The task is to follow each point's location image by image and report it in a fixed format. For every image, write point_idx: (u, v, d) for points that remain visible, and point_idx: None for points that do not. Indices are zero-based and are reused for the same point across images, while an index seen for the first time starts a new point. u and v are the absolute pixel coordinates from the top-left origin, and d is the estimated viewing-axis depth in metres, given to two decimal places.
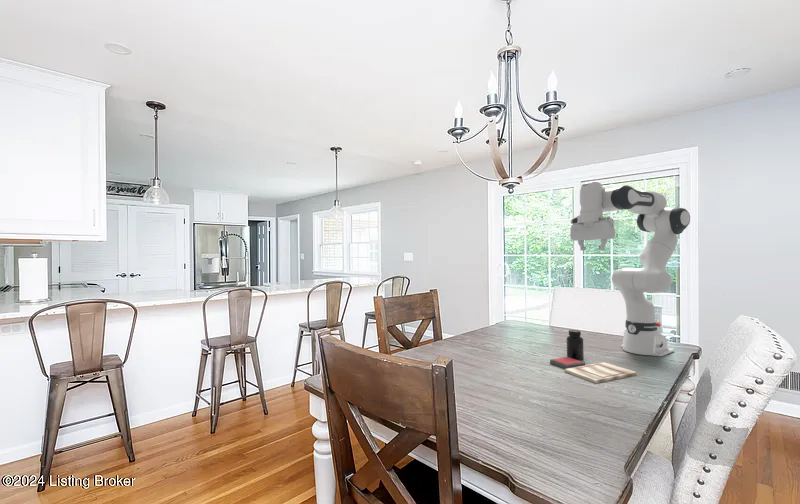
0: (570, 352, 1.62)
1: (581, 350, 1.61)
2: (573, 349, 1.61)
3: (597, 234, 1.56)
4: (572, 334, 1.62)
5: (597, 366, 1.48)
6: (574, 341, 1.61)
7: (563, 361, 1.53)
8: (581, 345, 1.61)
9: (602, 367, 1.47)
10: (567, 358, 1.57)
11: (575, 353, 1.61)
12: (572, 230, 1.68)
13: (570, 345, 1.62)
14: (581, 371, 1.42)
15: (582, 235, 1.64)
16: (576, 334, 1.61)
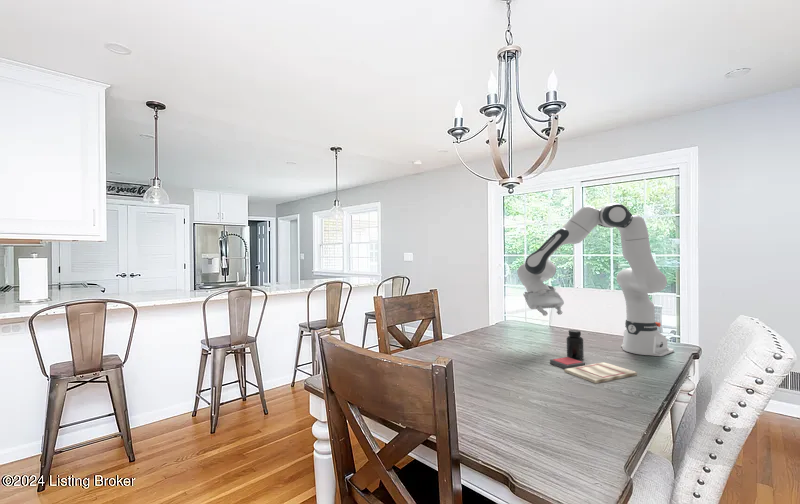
0: (570, 352, 1.62)
1: (581, 350, 1.61)
2: (573, 349, 1.61)
3: None
4: (572, 334, 1.62)
5: (597, 366, 1.48)
6: (574, 341, 1.61)
7: (563, 361, 1.53)
8: (581, 345, 1.61)
9: (602, 367, 1.47)
10: (567, 358, 1.57)
11: (575, 353, 1.61)
12: None
13: (570, 345, 1.62)
14: (581, 371, 1.42)
15: None
16: (576, 334, 1.61)
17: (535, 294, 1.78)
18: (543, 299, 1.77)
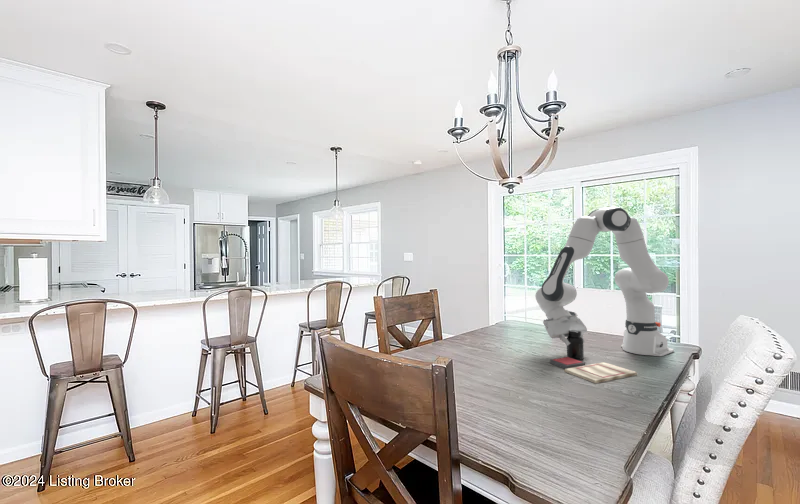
0: (570, 352, 1.62)
1: (581, 350, 1.61)
2: (573, 349, 1.61)
3: None
4: (572, 334, 1.62)
5: (597, 366, 1.48)
6: (574, 341, 1.61)
7: (563, 361, 1.53)
8: (581, 345, 1.61)
9: (602, 367, 1.47)
10: (567, 358, 1.57)
11: (575, 353, 1.61)
12: None
13: (570, 345, 1.62)
14: (581, 371, 1.42)
15: None
16: (576, 334, 1.61)
17: (556, 322, 1.67)
18: (564, 327, 1.66)
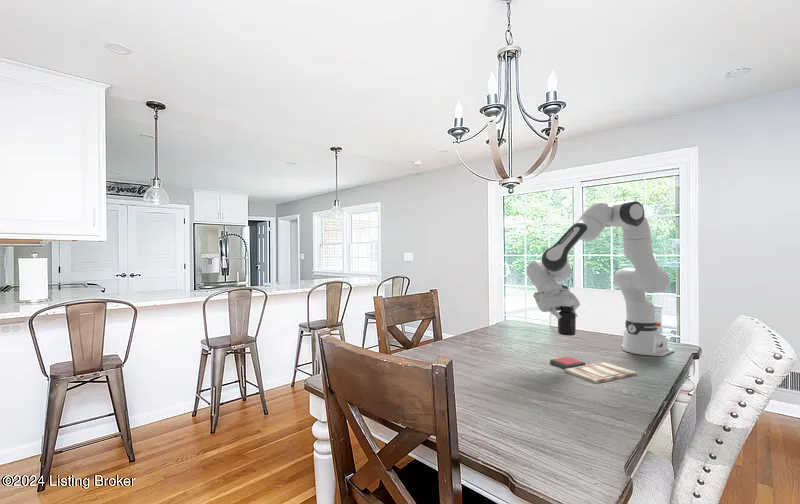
0: (561, 328, 1.52)
1: (573, 325, 1.51)
2: (564, 324, 1.52)
3: None
4: (564, 308, 1.53)
5: (597, 366, 1.48)
6: (566, 316, 1.51)
7: (563, 361, 1.53)
8: (573, 320, 1.51)
9: (602, 367, 1.47)
10: (567, 358, 1.57)
11: (567, 328, 1.51)
12: None
13: (562, 320, 1.52)
14: (581, 371, 1.42)
15: None
16: (568, 308, 1.52)
17: (547, 295, 1.58)
18: (556, 300, 1.57)
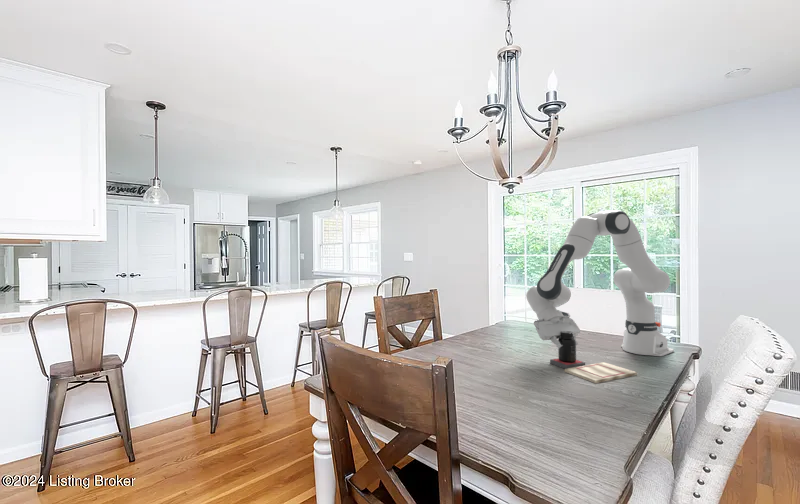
0: (562, 355, 1.52)
1: (573, 352, 1.51)
2: (565, 351, 1.51)
3: None
4: (564, 335, 1.52)
5: (597, 366, 1.48)
6: (566, 343, 1.51)
7: None
8: (573, 347, 1.51)
9: (602, 367, 1.47)
10: None
11: (567, 355, 1.51)
12: None
13: (562, 347, 1.52)
14: (581, 371, 1.42)
15: None
16: (568, 335, 1.52)
17: (547, 323, 1.57)
18: (556, 328, 1.56)
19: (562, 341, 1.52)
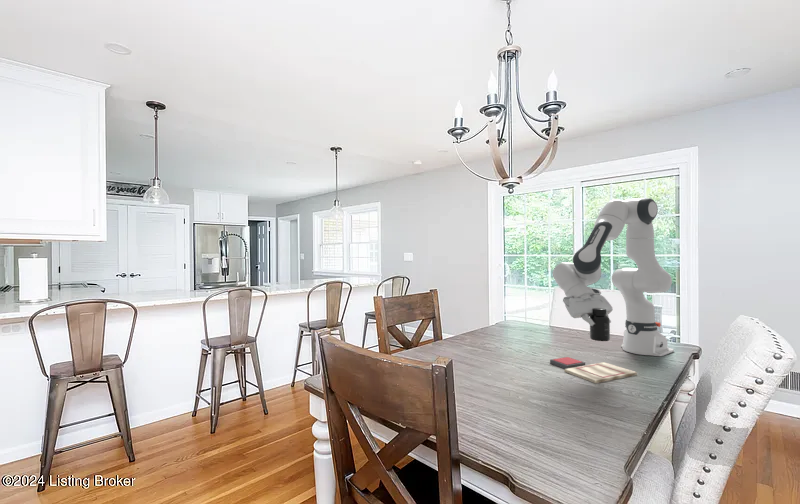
0: (594, 333, 1.41)
1: (607, 330, 1.40)
2: (598, 329, 1.41)
3: None
4: (597, 312, 1.42)
5: (597, 366, 1.48)
6: (599, 320, 1.40)
7: (563, 361, 1.53)
8: (607, 325, 1.40)
9: (602, 367, 1.47)
10: (567, 358, 1.57)
11: (601, 333, 1.40)
12: None
13: (595, 325, 1.41)
14: (581, 371, 1.42)
15: None
16: (601, 312, 1.41)
17: (577, 299, 1.46)
18: (588, 305, 1.46)
19: (595, 318, 1.42)
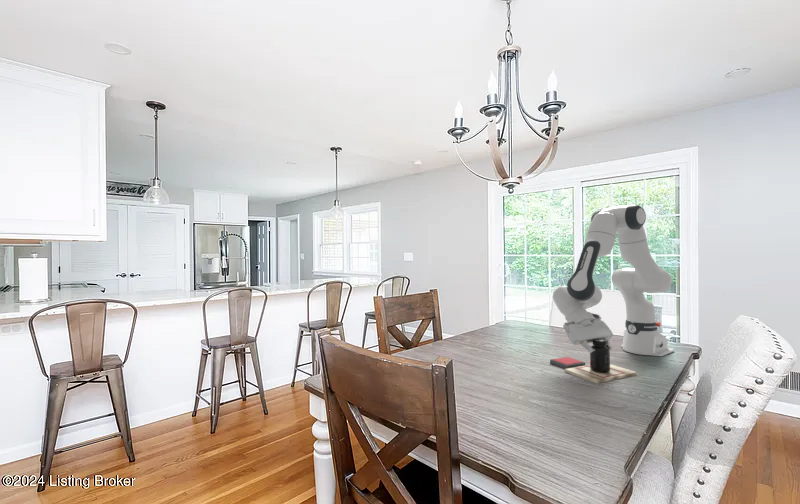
0: (595, 364, 1.42)
1: (607, 362, 1.40)
2: (598, 361, 1.41)
3: None
4: (597, 343, 1.42)
5: None
6: (599, 352, 1.40)
7: (563, 361, 1.53)
8: (607, 356, 1.40)
9: None
10: (567, 358, 1.57)
11: (601, 365, 1.40)
12: None
13: (595, 356, 1.41)
14: (581, 371, 1.42)
15: None
16: (601, 344, 1.41)
17: (578, 325, 1.46)
18: (588, 332, 1.46)
19: (595, 350, 1.41)
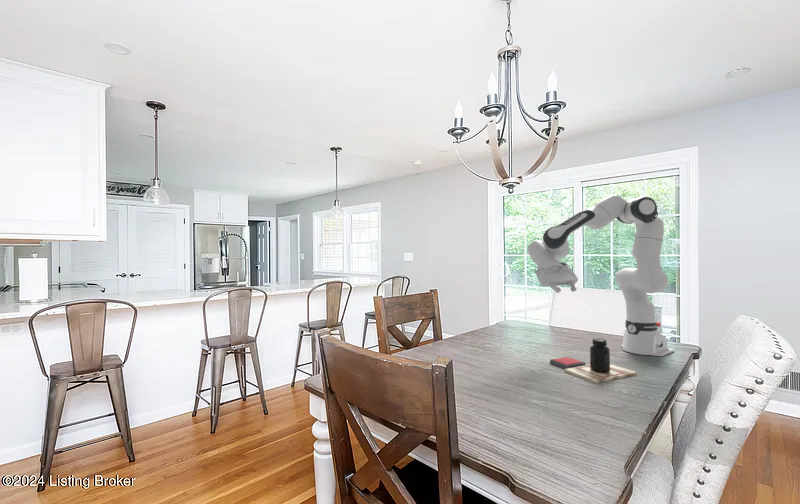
0: (595, 364, 1.42)
1: (607, 362, 1.40)
2: (598, 361, 1.41)
3: None
4: (597, 343, 1.42)
5: None
6: (599, 352, 1.40)
7: (563, 361, 1.53)
8: (607, 356, 1.40)
9: None
10: (567, 358, 1.57)
11: (601, 365, 1.40)
12: None
13: (595, 356, 1.41)
14: (581, 371, 1.42)
15: None
16: (601, 344, 1.41)
17: (547, 271, 1.69)
18: (556, 276, 1.68)
19: (595, 350, 1.41)
